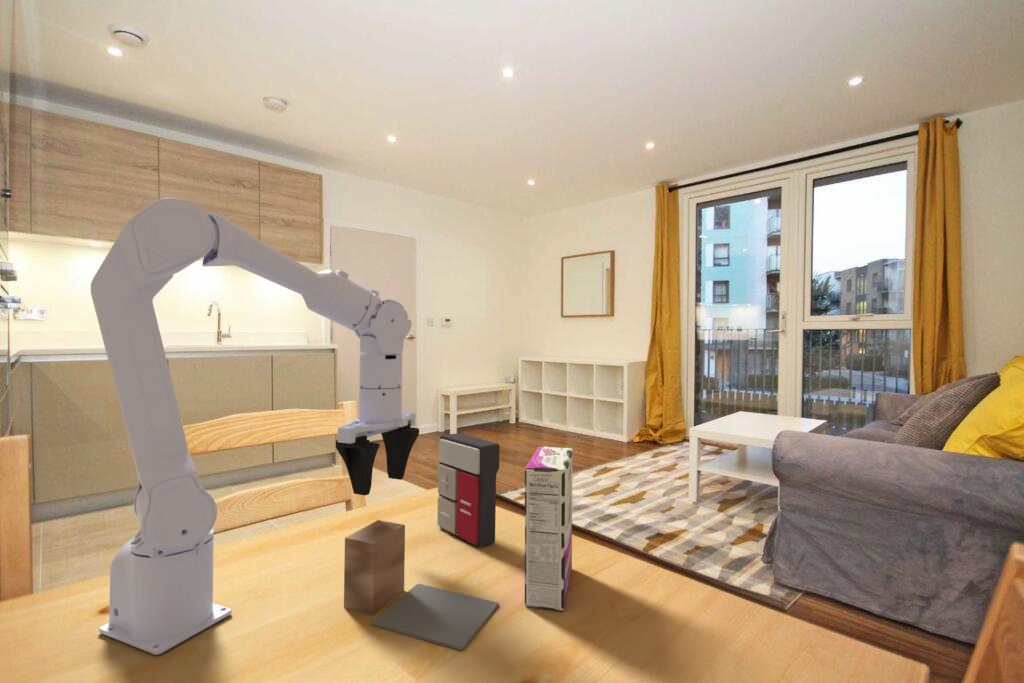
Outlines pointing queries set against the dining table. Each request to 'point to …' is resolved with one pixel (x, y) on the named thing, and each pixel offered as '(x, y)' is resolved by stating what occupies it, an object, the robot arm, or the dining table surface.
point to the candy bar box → (548, 528)
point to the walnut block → (374, 566)
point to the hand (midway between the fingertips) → (379, 485)
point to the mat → (437, 616)
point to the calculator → (468, 487)
